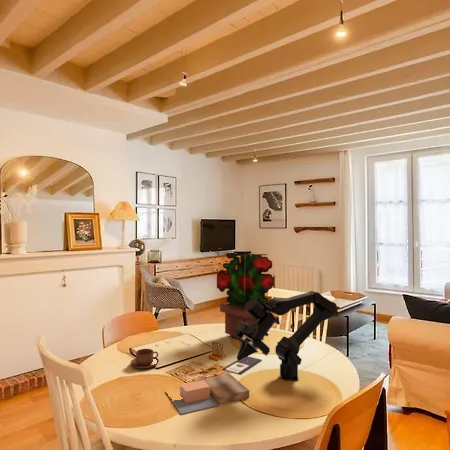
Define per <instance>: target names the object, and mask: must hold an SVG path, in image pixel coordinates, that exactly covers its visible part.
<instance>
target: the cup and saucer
mask: <svg viewBox="0 0 450 450" xmlns="http://www.w3.org/2000/svg"><path fill="white" fill-rule="evenodd" d="M135 352H136V353H135V358H133V359H132V360H130V365H131V366H132V367H133V368H136V369H141V370H142V369H144V370H145V369H150V368H153V367H156V366H157V364H159V358H158V357H159V352H158V351H154V349H152V348H141V349H138V350H136V351H135ZM154 354H156V356H154ZM153 359H156V360H157V363H156V364H154V365H151V366H150V364H151V363H152V362H153Z"/></svg>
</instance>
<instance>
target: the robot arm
mask: <svg viewBox="0 0 450 450" xmlns="http://www.w3.org/2000/svg"><path fill="white" fill-rule="evenodd" d="M268 300H269V301H268V302H265V303H263V302H262V301H261V300H260V298H259V297H255V298H254V299H251V300H250V301H249V302H247V303H246V305H245V310H246V311H247V312H248V313H249V314H250V315H251V316H252V317H253V318H254V319H258V320H257V322H256V323H252V324H251V323H248V324H246V323H244V322H241V321H239V323H238V326H237V329H236V331H235V332H234V333H235V334H236V335H237V336H238V337H239V338H240V340H241V341H240V340H239V341H240V347H239V350H238V352H237V356H236V361H237V360H241V359H243V358H245V357H247V356H248V357H250V355H253V354H256V353H259V351H258V350H260V351H261V353H262V354H263V355H265V357H267V356H268V354H269V353H270V352H271V351H270V350H271V348H270V347H269V346H268V345H267V344H266V343H265V342H264V341H263V339H264V338H265V337H268V336H269V335H270V334H269V331H270V330H271V329H272V327H273V326H274V324H276V325H280V323H281V322H280V317H281V316H283V315H286V314H287V313H289V312H290V311H291V310H292V309H295V308H298V307H302V306H306V305H310V304H313V306H314V307H313V311H312V313H311V315H310V316H309V317H308V318H307V319H306V320H305V321H304V322H303V323H302V324H301V325H300V326H299V327H298V329H296V330H295V332H294V333H293V334H292V335H291V336H289V337H287V336H285V335H284V336H282V338H281V339H280V340H279V341H277V342H276V343H277V345H275V348H274V351H275V355H276V356H277V358H278V360H280V361H281V363H280V364H279V376H280V377H281V380H282V379H288V380H287V381H299V377H298V376H299V373H298V372H299V371H298V370H299V369H298V368H299V365H301V363H302V360H303V359H302V358H301V357H300V355H298V354H299V352H300V347H301V345H302V344H303V343H304V342H305V341H306V340H307V339H308V337H310V335H311V334H312V333H314V331H315V330H316V329H317V328H318V327H319V326H320V324H322V322H323V321H326V320H328V319H331V318H332V317H333V316H335V315H336V314H337V312H338V305H337V304H336V302H334V301H332V300H330V299H328V298H327V297H324V296H323V295H322V294H321V293H320V292H317V291H313V290H311V291H308V292H305V293H300V294H298V295H294V296H290V297H273V298H270V299H268ZM267 310H268V311H270V312H271V313H268V312H267ZM275 315H276V316H275ZM279 316H280V317H279ZM289 379H290V380H289Z"/></svg>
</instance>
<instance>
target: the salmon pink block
mask: <svg viewBox="0 0 450 450" xmlns="http://www.w3.org/2000/svg"><path fill="white" fill-rule="evenodd" d="M179 388H180V396H181V397H182V398H183V400H184V401H185V402H186V403H188V402H193V401H197V400H202V399H206V398H210V386H209V385H208V384H207V383H206V382H205V381H204V380H197V381H191V382H186V383H182V384H180V387H179Z"/></svg>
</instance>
